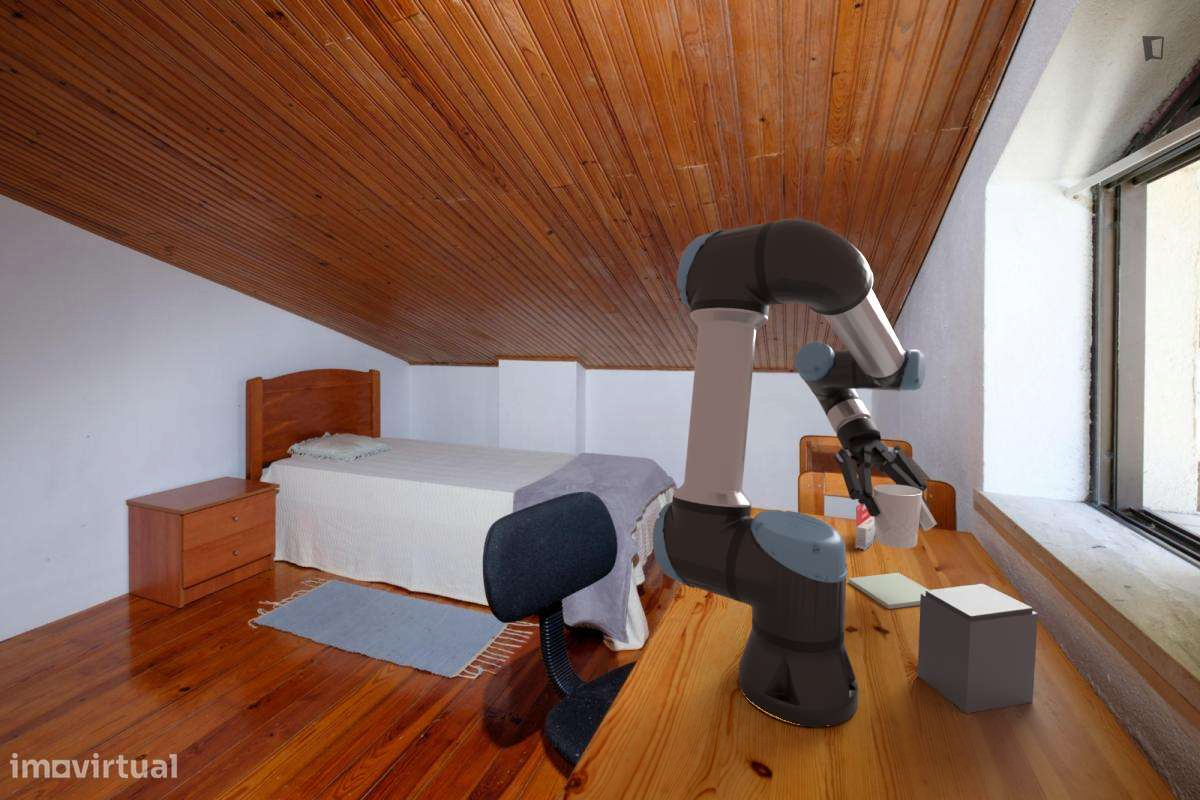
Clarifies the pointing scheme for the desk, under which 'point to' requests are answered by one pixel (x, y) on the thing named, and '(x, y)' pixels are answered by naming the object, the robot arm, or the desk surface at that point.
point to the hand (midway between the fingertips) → (910, 529)
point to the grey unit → (977, 647)
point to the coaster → (890, 589)
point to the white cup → (899, 514)
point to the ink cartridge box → (864, 528)
